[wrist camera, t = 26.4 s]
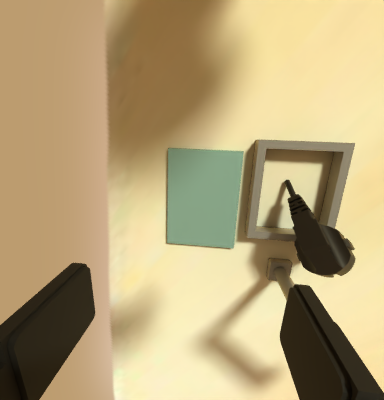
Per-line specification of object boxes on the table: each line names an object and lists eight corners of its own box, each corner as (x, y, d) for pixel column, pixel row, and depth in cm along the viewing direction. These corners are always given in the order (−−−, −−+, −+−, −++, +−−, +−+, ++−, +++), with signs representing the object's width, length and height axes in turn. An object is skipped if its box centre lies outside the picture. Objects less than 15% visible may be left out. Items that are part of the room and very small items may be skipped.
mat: (169, 148, 28) (168, 148, 27) (242, 151, 27) (243, 151, 27) (168, 241, 32) (167, 242, 31) (233, 246, 31) (233, 248, 30)
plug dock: (255, 140, 27) (329, 129, 10) (344, 143, 26) (593, 138, 9) (240, 273, 32) (271, 415, 15) (313, 280, 31) (434, 439, 14)
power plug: (306, 167, 25) (357, 264, 19) (323, 189, 30) (370, 273, 24) (265, 189, 28) (297, 278, 22) (287, 205, 33) (319, 283, 27)
